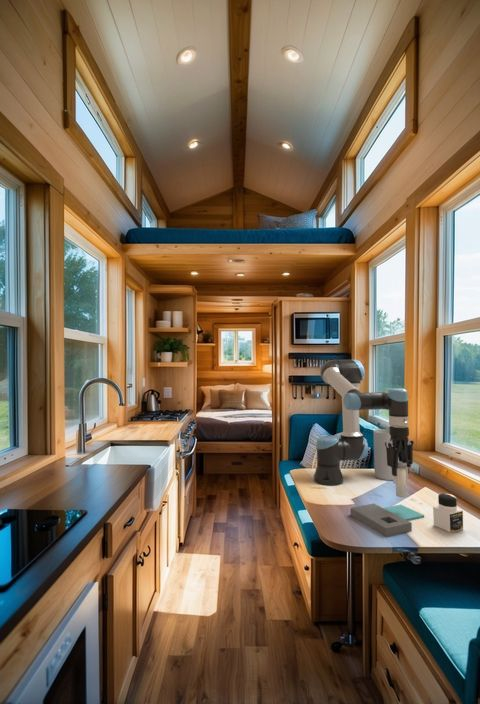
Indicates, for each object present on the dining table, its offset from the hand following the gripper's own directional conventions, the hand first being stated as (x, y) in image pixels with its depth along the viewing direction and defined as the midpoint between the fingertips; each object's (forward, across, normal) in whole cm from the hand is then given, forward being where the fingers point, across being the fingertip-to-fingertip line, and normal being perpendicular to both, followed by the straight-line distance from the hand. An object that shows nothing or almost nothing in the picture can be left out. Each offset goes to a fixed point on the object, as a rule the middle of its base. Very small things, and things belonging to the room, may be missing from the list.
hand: (400, 482), depth 148 cm
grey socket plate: (+13, -14, -3) cm, 19 cm away
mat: (+13, 0, 0) cm, 13 cm away
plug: (+5, 0, 0) cm, 5 cm away
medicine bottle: (+13, +7, -16) cm, 22 cm away
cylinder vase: (+13, +30, +40) cm, 52 cm away
